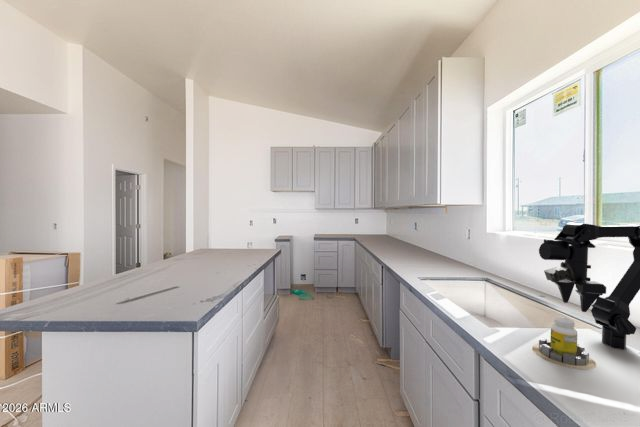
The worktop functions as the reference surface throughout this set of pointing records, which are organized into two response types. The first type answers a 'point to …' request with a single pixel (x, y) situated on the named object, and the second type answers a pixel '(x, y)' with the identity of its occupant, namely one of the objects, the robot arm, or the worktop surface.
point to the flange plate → (588, 366)
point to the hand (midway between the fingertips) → (574, 307)
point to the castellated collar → (564, 354)
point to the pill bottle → (563, 336)
